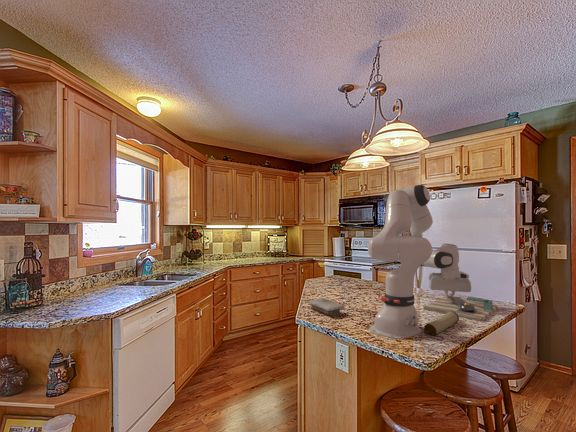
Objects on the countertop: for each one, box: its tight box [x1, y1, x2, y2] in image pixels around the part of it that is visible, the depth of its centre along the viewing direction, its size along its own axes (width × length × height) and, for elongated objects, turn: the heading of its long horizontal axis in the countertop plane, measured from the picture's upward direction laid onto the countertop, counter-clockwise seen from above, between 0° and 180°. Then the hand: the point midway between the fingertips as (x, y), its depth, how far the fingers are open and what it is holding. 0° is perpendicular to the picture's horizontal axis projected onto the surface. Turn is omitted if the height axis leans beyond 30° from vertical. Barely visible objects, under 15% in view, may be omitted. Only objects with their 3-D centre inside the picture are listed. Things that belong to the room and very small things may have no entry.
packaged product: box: [307, 297, 345, 316], centre depth 152 cm, size 18×5×10 cm
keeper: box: [466, 296, 493, 311], centre depth 153 cm, size 3×10×4 cm, turn 44°
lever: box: [451, 296, 474, 312], centre depth 156 cm, size 21×6×3 cm, turn 168°
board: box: [423, 296, 499, 322], centre depth 157 cm, size 29×26×2 cm
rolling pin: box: [423, 312, 460, 337], centre depth 129 cm, size 32×6×5 cm, turn 131°
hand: (449, 299), depth 165 cm, fingers closed
